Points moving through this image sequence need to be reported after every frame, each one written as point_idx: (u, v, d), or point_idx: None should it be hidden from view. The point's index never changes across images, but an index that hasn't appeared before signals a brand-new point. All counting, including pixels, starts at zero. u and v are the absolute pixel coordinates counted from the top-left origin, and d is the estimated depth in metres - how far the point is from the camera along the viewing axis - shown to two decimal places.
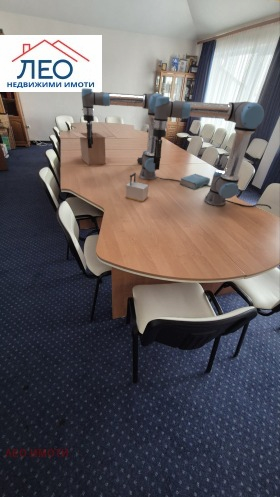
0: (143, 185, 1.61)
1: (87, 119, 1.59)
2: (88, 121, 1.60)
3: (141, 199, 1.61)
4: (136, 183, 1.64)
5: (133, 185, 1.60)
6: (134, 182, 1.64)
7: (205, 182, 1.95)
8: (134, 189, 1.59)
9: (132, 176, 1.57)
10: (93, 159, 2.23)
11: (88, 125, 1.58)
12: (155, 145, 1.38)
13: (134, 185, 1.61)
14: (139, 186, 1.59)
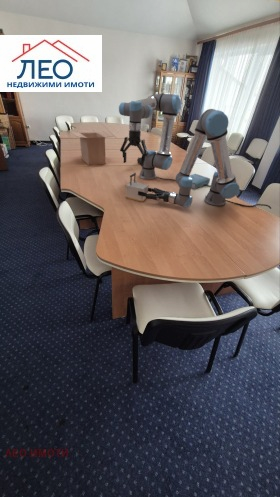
0: (143, 185, 1.61)
1: (139, 135, 1.42)
2: (139, 137, 1.42)
3: (141, 199, 1.61)
4: (136, 183, 1.64)
5: (133, 185, 1.60)
6: (134, 182, 1.64)
7: (205, 182, 1.95)
8: (134, 189, 1.59)
9: (132, 176, 1.57)
10: (93, 159, 2.23)
11: (144, 142, 1.43)
12: None
13: (134, 185, 1.61)
14: (139, 186, 1.59)
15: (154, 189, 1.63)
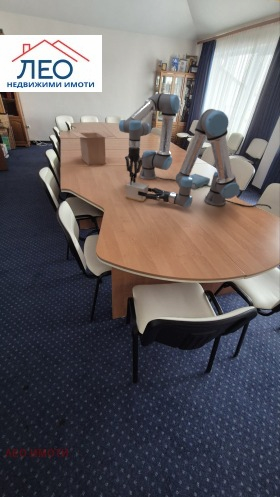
0: (143, 185, 1.61)
1: (138, 152, 1.48)
2: (138, 154, 1.48)
3: (141, 199, 1.61)
4: (136, 183, 1.64)
5: (133, 185, 1.60)
6: (134, 182, 1.64)
7: (205, 182, 1.95)
8: (134, 189, 1.59)
9: (132, 176, 1.57)
10: (93, 159, 2.23)
11: (141, 161, 1.51)
12: None
13: (134, 185, 1.60)
14: (139, 186, 1.59)
15: (154, 189, 1.63)
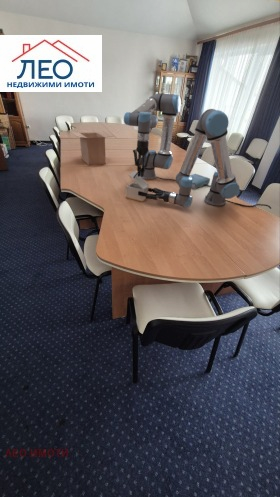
0: (144, 183, 1.60)
1: (147, 145, 1.43)
2: (147, 147, 1.44)
3: (141, 199, 1.61)
4: (139, 177, 1.60)
5: (136, 179, 1.57)
6: (137, 175, 1.60)
7: (205, 182, 1.95)
8: (134, 189, 1.59)
9: None
10: (93, 159, 2.23)
11: (150, 155, 1.46)
12: None
13: (137, 179, 1.57)
14: (141, 184, 1.57)
15: (154, 189, 1.63)
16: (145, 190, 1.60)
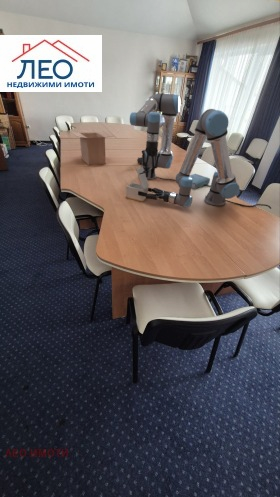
0: (146, 183, 1.59)
1: (156, 146, 1.40)
2: (157, 148, 1.41)
3: (141, 199, 1.61)
4: (143, 174, 1.57)
5: (140, 176, 1.54)
6: (143, 171, 1.57)
7: (205, 182, 1.95)
8: (134, 189, 1.59)
9: None
10: (93, 159, 2.23)
11: (159, 155, 1.43)
12: None
13: (141, 176, 1.55)
14: (143, 183, 1.56)
15: (154, 189, 1.63)
16: (145, 190, 1.60)
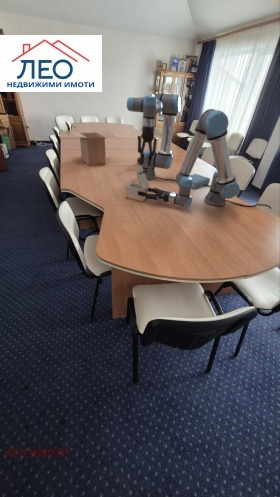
0: (146, 183, 1.59)
1: (153, 131, 1.37)
2: (153, 133, 1.38)
3: (141, 199, 1.61)
4: (143, 174, 1.58)
5: (140, 176, 1.54)
6: (142, 171, 1.57)
7: (205, 182, 1.95)
8: (134, 189, 1.59)
9: (147, 171, 1.50)
10: (93, 159, 2.23)
11: (156, 141, 1.40)
12: None
13: (141, 176, 1.55)
14: (143, 183, 1.56)
15: (154, 189, 1.63)
16: (145, 190, 1.60)
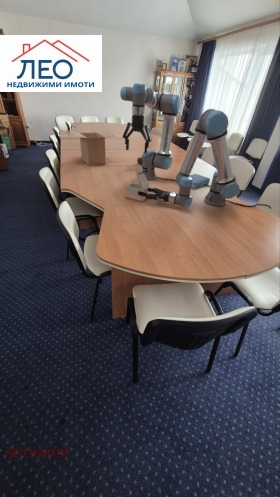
0: (145, 183, 1.59)
1: (142, 120, 1.36)
2: (143, 122, 1.37)
3: (141, 199, 1.61)
4: (143, 174, 1.58)
5: (140, 176, 1.54)
6: (142, 171, 1.57)
7: (205, 182, 1.95)
8: (134, 189, 1.59)
9: (147, 171, 1.50)
10: (93, 159, 2.23)
11: (147, 127, 1.37)
12: None
13: (141, 176, 1.55)
14: (142, 183, 1.56)
15: (154, 189, 1.63)
16: (145, 190, 1.60)
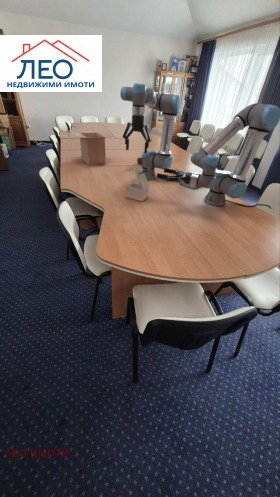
0: (145, 183, 1.59)
1: (142, 120, 1.36)
2: (143, 122, 1.37)
3: (141, 199, 1.61)
4: (143, 174, 1.58)
5: (140, 176, 1.54)
6: (142, 171, 1.57)
7: None
8: (134, 189, 1.59)
9: (147, 171, 1.50)
10: (93, 159, 2.23)
11: (147, 127, 1.37)
12: None
13: (141, 176, 1.55)
14: (142, 183, 1.56)
15: (175, 170, 1.51)
16: (145, 190, 1.60)
